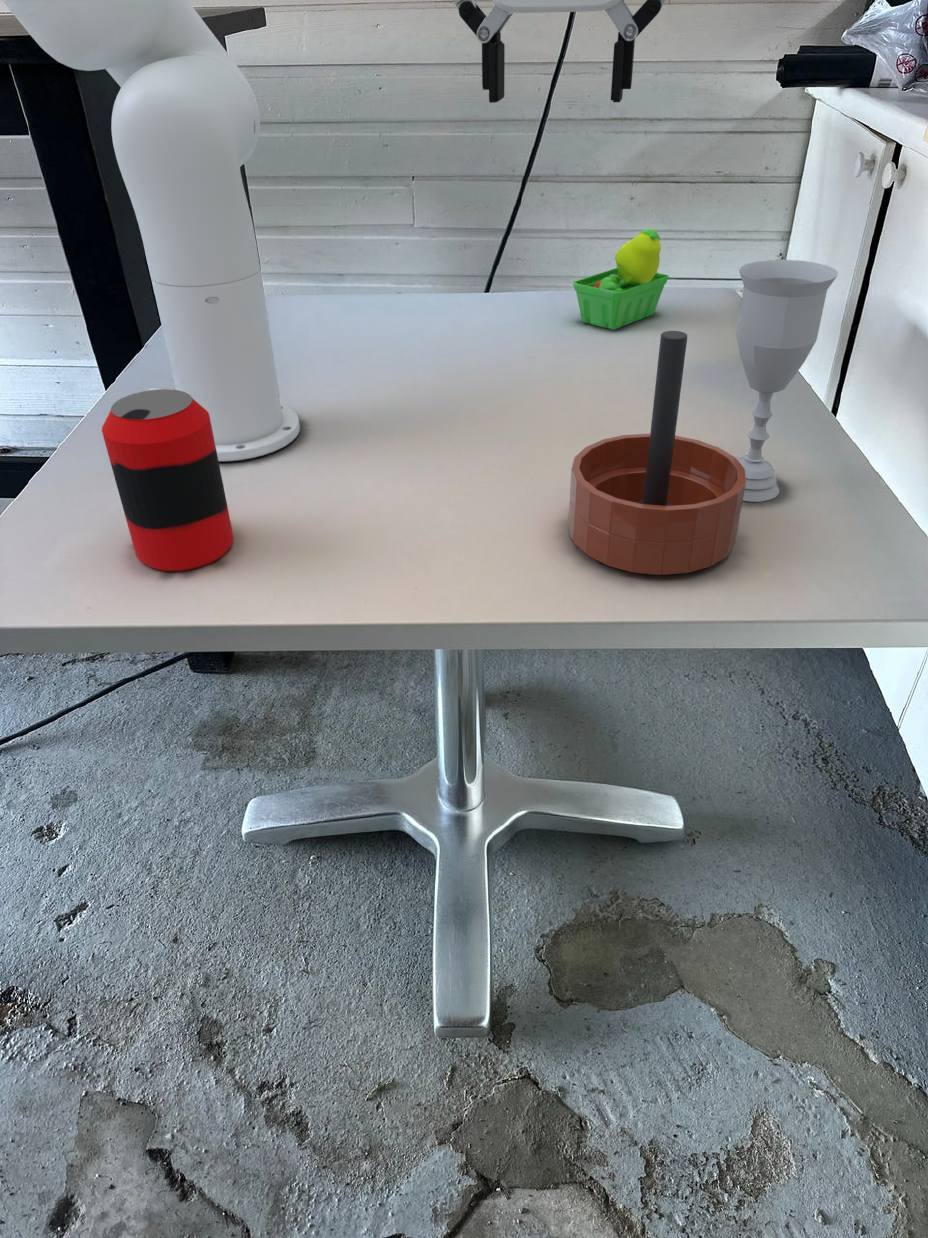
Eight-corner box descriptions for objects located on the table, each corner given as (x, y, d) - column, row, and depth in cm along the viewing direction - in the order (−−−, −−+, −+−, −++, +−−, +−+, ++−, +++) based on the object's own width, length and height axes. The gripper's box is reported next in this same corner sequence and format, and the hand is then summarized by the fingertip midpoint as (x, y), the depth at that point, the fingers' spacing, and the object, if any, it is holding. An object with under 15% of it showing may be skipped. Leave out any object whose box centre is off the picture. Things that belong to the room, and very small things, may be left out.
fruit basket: (620, 303, 122) (627, 214, 115) (675, 315, 117) (686, 223, 110) (567, 322, 115) (572, 229, 109) (624, 337, 110) (632, 240, 104)
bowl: (559, 572, 67) (562, 501, 63) (577, 494, 77) (581, 428, 73) (735, 589, 64) (749, 516, 61) (730, 506, 74) (742, 439, 71)
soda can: (117, 567, 69) (74, 420, 62) (166, 520, 75) (132, 381, 68) (207, 578, 67) (174, 428, 60) (249, 529, 73) (223, 388, 66)
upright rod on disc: (618, 543, 69) (636, 343, 60) (622, 513, 73) (640, 322, 64) (682, 548, 68) (710, 347, 59) (683, 518, 72) (709, 325, 63)
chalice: (740, 514, 73) (781, 288, 63) (690, 481, 78) (719, 267, 68) (809, 494, 76) (859, 275, 65) (756, 464, 81) (794, 255, 70)
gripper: (694, -186, 63) (667, 95, 73) (454, -172, 66) (460, 96, 76) (693, -203, 57) (664, 105, 67) (430, -187, 60) (440, 106, 70)
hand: (555, 100), depth 71 cm, fingers open, 9 cm apart
